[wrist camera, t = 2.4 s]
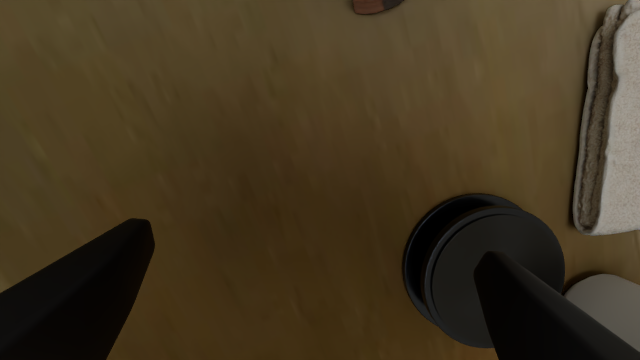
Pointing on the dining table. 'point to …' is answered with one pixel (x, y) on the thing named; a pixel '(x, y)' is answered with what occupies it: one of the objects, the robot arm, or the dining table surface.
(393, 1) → the pottery mug
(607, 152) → the washcloth
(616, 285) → the can
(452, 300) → the stand
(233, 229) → the dining table surface
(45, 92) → the dining table surface
